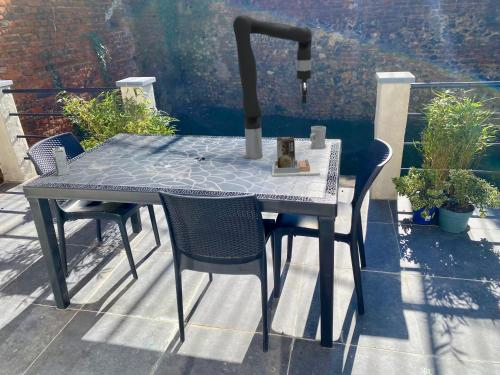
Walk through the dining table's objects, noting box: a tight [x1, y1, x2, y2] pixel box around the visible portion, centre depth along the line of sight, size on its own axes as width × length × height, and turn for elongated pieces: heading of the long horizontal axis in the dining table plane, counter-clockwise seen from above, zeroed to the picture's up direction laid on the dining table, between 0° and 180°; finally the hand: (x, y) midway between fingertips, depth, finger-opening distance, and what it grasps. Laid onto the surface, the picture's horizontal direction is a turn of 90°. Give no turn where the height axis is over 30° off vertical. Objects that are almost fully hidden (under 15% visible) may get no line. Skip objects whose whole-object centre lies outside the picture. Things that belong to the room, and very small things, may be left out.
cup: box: [309, 125, 327, 150], centre depth 239 cm, size 10×9×12 cm
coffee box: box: [276, 136, 296, 168], centre depth 203 cm, size 9×6×16 cm
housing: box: [271, 159, 321, 178], centre depth 205 cm, size 24×16×4 cm
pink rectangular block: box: [298, 159, 310, 172], centre depth 204 cm, size 5×10×3 cm, turn 177°
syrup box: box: [51, 146, 70, 177], centre depth 217 cm, size 6×6×14 cm
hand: (303, 102), depth 211 cm, fingers closed
